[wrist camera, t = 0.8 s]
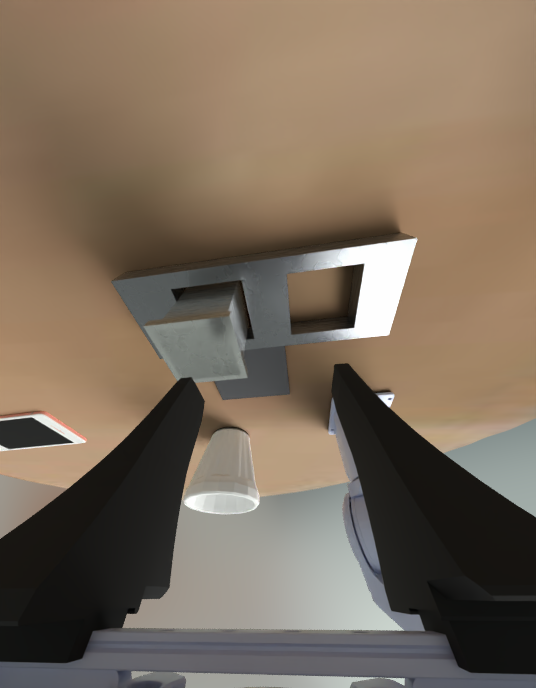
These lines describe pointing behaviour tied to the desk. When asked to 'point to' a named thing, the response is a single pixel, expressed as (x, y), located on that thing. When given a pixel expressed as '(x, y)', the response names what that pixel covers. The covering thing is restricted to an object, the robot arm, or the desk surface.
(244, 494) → the cup
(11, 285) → the desk surface
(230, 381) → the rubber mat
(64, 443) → the cell phone
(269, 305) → the grey flat block
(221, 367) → the grey boxy piece
